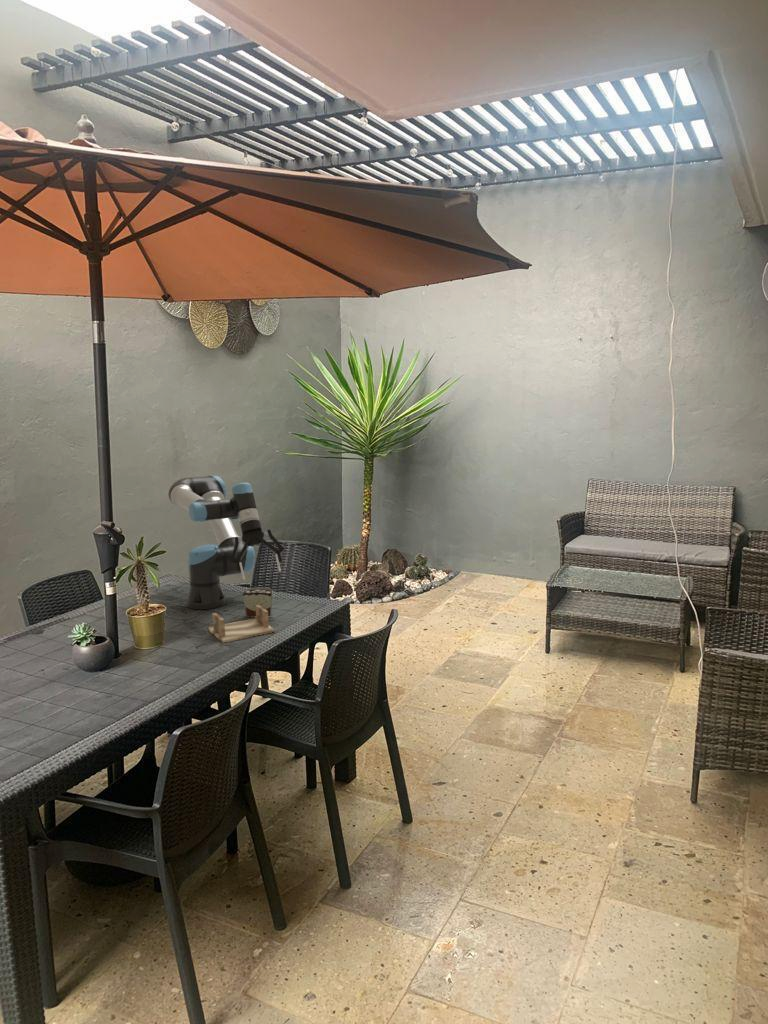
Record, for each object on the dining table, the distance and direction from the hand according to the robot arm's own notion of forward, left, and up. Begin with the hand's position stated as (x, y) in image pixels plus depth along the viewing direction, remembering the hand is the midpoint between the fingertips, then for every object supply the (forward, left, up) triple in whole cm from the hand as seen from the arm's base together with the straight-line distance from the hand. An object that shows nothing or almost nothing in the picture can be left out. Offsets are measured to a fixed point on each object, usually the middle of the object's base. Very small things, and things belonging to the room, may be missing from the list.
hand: (262, 575), depth 274 cm
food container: (-3, 0, -16) cm, 16 cm away
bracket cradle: (+11, -13, -16) cm, 23 cm away
